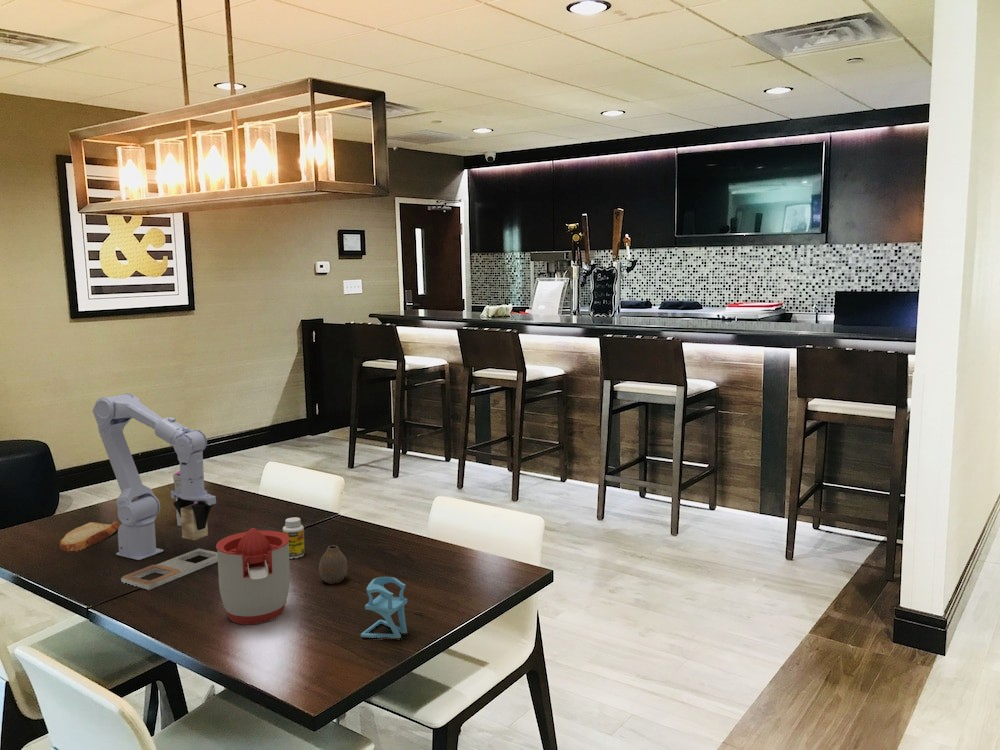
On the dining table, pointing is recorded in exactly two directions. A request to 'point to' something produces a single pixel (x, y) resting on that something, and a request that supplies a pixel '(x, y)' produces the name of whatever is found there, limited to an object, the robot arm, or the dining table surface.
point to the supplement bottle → (295, 537)
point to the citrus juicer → (254, 575)
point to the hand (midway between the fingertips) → (194, 527)
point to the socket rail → (170, 569)
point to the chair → (386, 607)
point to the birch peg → (191, 525)
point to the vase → (333, 565)
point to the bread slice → (87, 535)
